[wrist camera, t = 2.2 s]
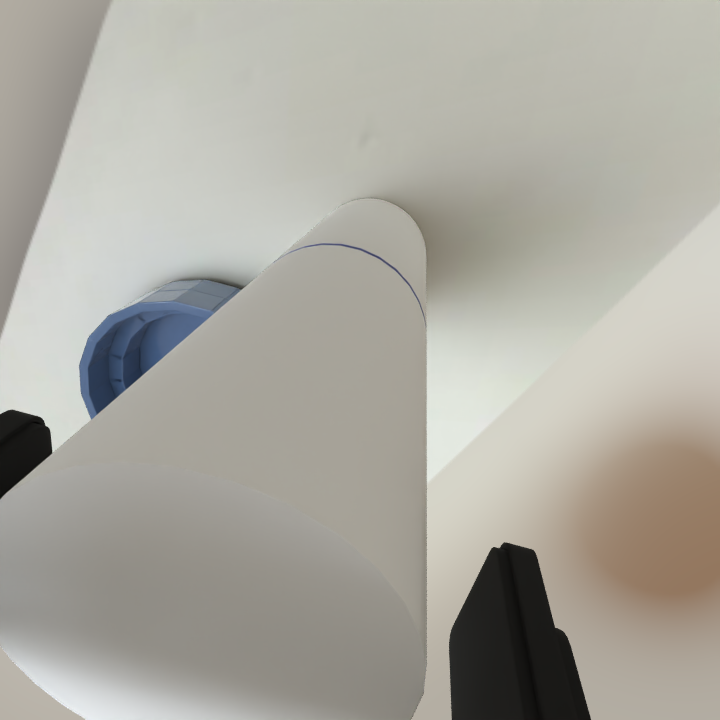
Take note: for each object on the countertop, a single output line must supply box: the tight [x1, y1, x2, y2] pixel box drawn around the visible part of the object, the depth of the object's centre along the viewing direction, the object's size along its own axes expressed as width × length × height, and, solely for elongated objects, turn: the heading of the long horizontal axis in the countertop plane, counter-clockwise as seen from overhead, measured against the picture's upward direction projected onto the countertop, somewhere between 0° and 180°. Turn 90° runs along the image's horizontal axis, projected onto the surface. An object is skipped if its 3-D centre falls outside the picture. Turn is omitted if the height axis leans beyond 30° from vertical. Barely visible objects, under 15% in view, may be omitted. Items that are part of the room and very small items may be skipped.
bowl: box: [79, 280, 241, 420], centre depth 32 cm, size 14×14×5 cm
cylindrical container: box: [0, 198, 427, 720], centre depth 18 cm, size 7×7×25 cm
